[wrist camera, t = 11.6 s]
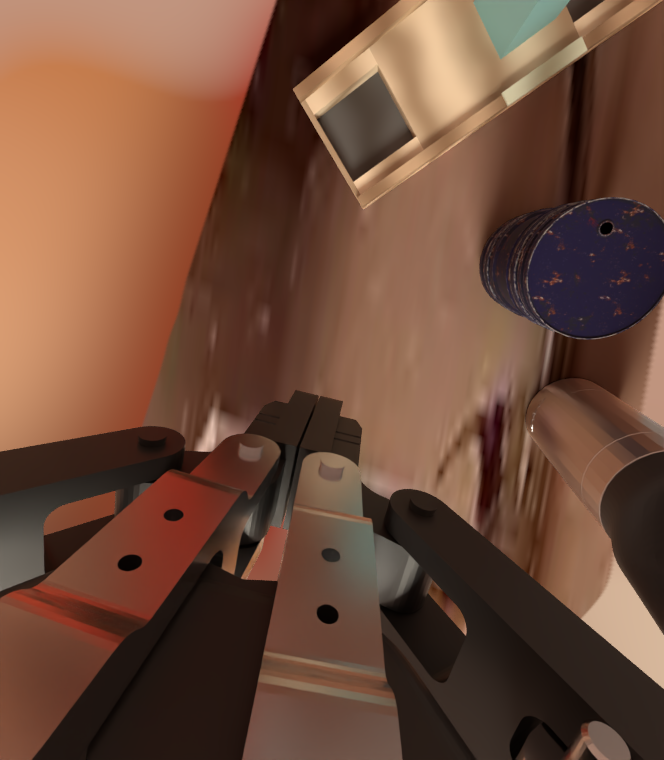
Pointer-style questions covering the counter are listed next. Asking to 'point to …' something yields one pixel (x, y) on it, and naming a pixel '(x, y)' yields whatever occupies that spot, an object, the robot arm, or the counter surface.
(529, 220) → the navy cylinder
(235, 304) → the counter surface
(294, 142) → the counter surface
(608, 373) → the counter surface
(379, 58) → the box
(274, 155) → the counter surface
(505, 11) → the teal block
